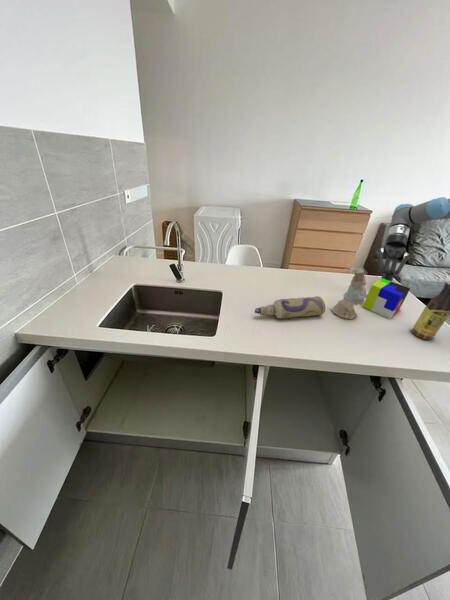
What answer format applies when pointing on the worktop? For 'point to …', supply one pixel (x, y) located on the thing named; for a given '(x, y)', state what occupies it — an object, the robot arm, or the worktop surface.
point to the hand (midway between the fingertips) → (384, 288)
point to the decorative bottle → (294, 307)
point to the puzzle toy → (386, 297)
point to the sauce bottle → (433, 314)
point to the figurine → (352, 296)
